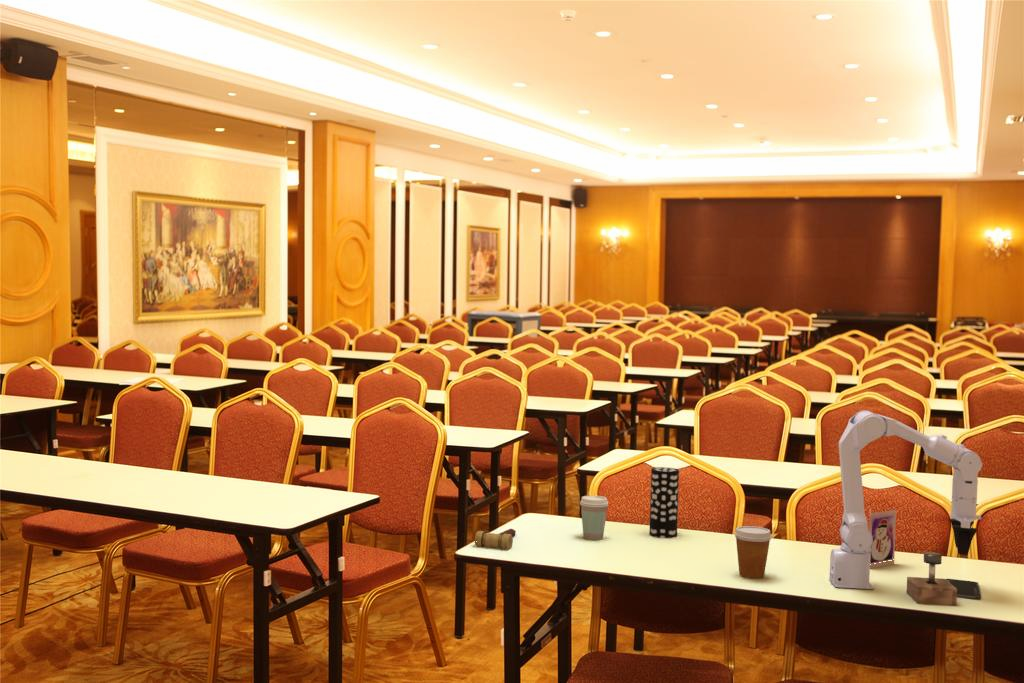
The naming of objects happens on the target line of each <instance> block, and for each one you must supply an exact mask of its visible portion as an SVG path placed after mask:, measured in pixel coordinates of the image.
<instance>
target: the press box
mask: <svg viewBox="0 0 1024 683" xmlns="http://www.w3.org/2000/svg"><path fill="white" fill-rule="evenodd" d="M946 579H947V578H939V577H937V578H936V577H935V584H929V577H917V576H907V577H906V594H907V595H908V596H909V597H910V598H911V599H912V600H913V601H914V602H915V603H916V604H919V605H921V604H922V605H939V606H957V603H958V602H957V601H958V600H957V599H958V597H957V588H955V587H954V586H953V585H952V584H951V583H949V582H948V581H947V580H946Z"/></svg>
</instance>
